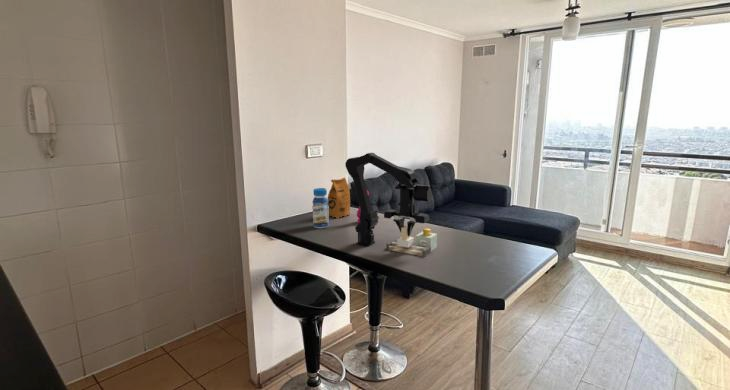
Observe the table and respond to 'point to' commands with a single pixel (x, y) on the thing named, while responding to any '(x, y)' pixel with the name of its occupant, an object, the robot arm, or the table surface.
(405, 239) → the carriage
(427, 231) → the button
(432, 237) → the button housing
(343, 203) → the coffee package
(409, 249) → the rail
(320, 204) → the beverage bottle
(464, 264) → the table surface
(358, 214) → the pepper mill
